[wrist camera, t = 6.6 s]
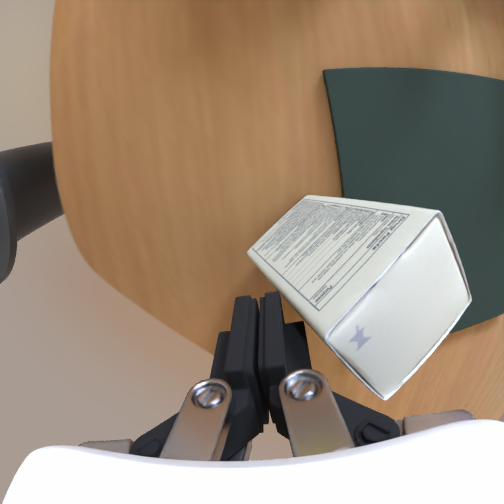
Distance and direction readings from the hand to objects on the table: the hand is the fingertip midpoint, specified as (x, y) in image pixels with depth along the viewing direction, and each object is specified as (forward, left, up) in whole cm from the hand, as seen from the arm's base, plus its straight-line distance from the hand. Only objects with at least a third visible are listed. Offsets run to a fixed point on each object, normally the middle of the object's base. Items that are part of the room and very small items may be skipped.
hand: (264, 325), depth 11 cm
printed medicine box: (+2, 0, -7) cm, 7 cm away
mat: (+13, 0, -7) cm, 15 cm away
